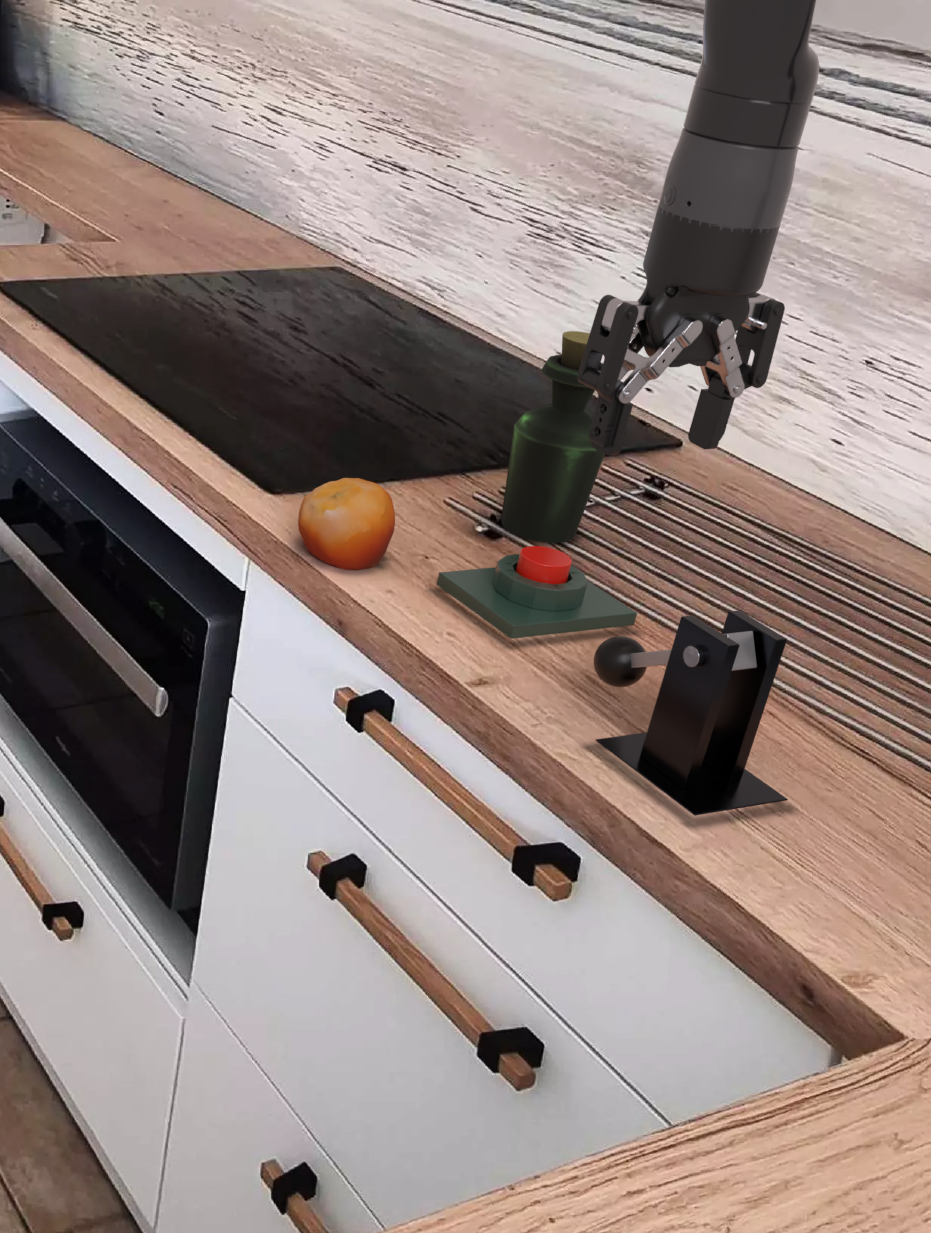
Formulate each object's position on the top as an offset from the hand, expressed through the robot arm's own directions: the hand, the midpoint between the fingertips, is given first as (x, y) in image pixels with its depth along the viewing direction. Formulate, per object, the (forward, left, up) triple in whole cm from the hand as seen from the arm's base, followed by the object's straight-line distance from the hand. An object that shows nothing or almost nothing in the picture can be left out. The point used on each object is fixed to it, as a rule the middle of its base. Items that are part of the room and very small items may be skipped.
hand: (653, 448), depth 121 cm
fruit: (+5, -26, -20) cm, 33 cm away
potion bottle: (-17, -28, -20) cm, 39 cm away
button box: (-5, -13, -20) cm, 24 cm away
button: (-5, -13, -16) cm, 22 cm away
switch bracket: (+1, +12, -20) cm, 23 cm away
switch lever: (+1, +8, -14) cm, 16 cm away
